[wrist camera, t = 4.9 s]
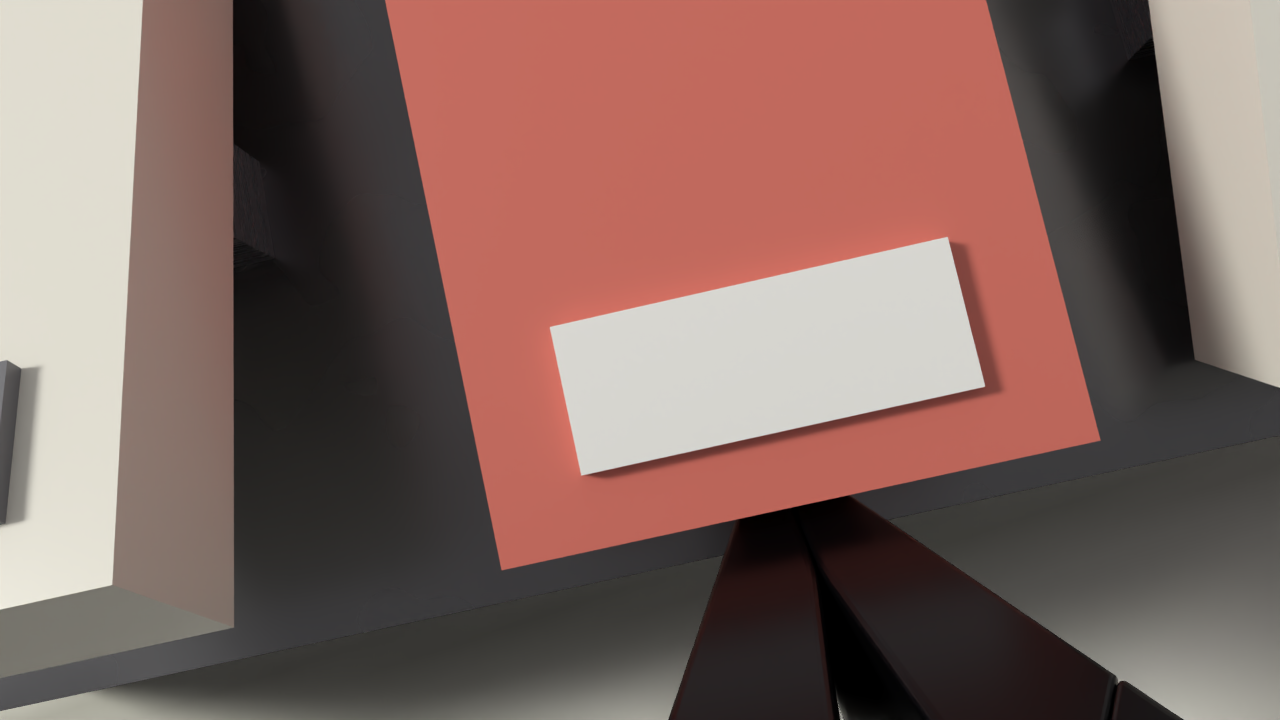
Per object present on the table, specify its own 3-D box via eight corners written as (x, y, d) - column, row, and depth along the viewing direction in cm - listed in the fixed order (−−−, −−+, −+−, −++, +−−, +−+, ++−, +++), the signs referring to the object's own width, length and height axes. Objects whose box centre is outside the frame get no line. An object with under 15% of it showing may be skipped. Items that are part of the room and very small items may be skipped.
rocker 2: (1031, 438, 9) (1108, 440, 8) (534, 548, 10) (498, 573, 8) (811, -429, 10) (834, -609, 8) (356, -312, 10) (286, -467, 9)
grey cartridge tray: (1526, 358, 15) (2090, 270, 9) (-76, 705, 16) (-561, 840, 10) (1326, -221, 17) (1697, -644, 10) (-140, 134, 18) (-602, -57, 11)
